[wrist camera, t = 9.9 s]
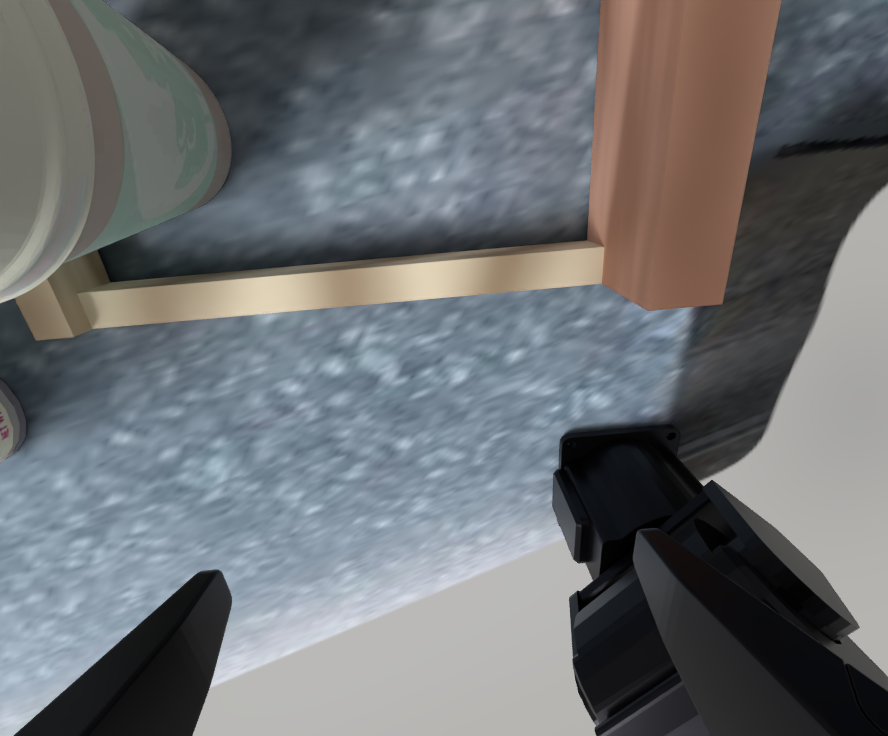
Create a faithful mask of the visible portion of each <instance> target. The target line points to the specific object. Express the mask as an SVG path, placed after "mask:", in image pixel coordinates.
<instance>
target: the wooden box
mask: <svg viewBox="0 0 888 736" xmlns="http://www.w3.org/2000/svg"><path fill="white" fill-rule="evenodd" d="M780 6H781V0H601V5H600V23H599V40H598V58H597V75H596V93H595V110H594V128H593V145H592V163H591V180H590V198H589V215H588V233H587V240H585V241H573V242H562V243H551V244H539V245H528V246H517V247H505V248H494V249H483V250H471V251H460V252H449V253H437V254H426V255H415V256H403V257H392V258H381V259H369V260H358V261H347V262H335V263H324V264H313V265H301V266H290V267H279V268H267V269H256V270H245V271H233V272H222V273H211V274H199V275H188V276H177V277H165V278H154V279H142V280H131V281H120V282H110V280H109V278H108V275H107V273H106V270H105V268H104V265H103V263H102V261H101V258H100V256H99V253H98V251H97V250H95V251H92V252H90V253H87V254H85V255H82V256H80V257H77V258H75V259H73V260H70V261H68V262H65V263H63V264H61V265H60V266H59V268H58V269H57V270H56V271H55V272H54V273H53V274H51V275H50V276H49V277H48V278H47V279H46V280H44V281H43V282H42V283H40V284H39V285H38V286H36V287H35V288H33V289H31V290H30V291H28V292H26V293H24V294H22V295H20V296H18V297H15V300H16V302H17V304H18V306H19V308H20V310H21V312H22V314H23V316H24V318H25V320H26V322H27V324H28V326H29V328H30V330H31V332H32V334H33V336H34V338H35V340H36V341H38V340H49V339H60V338H72V337H76V336H78V335H80V334H83V333H85V332H87V331H89V330H91V329H98V328H109V327H121V326H132V325H143V324H154V323H166V322H177V321H188V320H199V319H210V318H222V317H233V316H244V315H255V314H267V313H278V312H289V311H300V310H311V309H323V308H334V307H345V306H356V305H368V304H379V303H390V302H401V301H413V300H424V299H435V298H446V297H457V296H469V295H480V294H491V293H502V292H514V291H525V290H536V289H547V288H558V287H570V286H581V285H592V284H603V285H605V286H607V287H608V288H610V289H612V290H613V291H615V292H617V293H619V294H620V295H622V296H624V297H625V298H627V299H629V300H630V301H632V302H634V303H635V304H637V305H639V306H641V307H642V308H644V309H646V310H647V311H651V310H662V309H673V308H685V307H696V306H707V305H718V304H722V303H723V298H724V293H725V288H726V283H727V278H728V272H729V267H730V262H731V257H732V252H733V247H734V242H735V237H736V231H737V226H738V221H739V216H740V211H741V206H742V201H743V195H744V190H745V185H746V180H747V175H748V170H749V165H750V160H751V154H752V149H753V144H754V139H755V134H756V129H757V124H758V118H759V113H760V108H761V103H762V98H763V93H764V88H765V83H766V77H767V72H768V67H769V62H770V57H771V52H772V47H773V41H774V36H775V31H776V26H777V21H778V16H779V11H780Z"/></svg>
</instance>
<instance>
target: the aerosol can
mask: <svg viewBox="0 0 888 736" xmlns="http://www.w3.org/2000/svg"><path fill="white" fill-rule="evenodd" d="M25 438H26V418H25V415H24V413H23V410H22V407H21V404H20V402H19V401H18V399H17V398H16V397H15V395H14V394H13V393H12V391H11V390H10V388H9V387H8V386H7V384H6V383H4V382H3V381H2V380H1V379H0V463H1V462H2V461H4V460H5V459H6V458H8V457H9V456H11V455H12V454H14V453H15V452H17V451H18V450H19V448H20V447H21V445H22V443H23V441H24V440H25Z"/></svg>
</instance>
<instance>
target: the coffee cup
mask: <svg viewBox="0 0 888 736" xmlns="http://www.w3.org/2000/svg"><path fill="white" fill-rule="evenodd" d="M231 154H232V147H231V137H230V132H229V127H228V124H227V121H226V118H225V115H224V113H223V110H222V108H221V106H220V104H219V102H218V101H217V99H216V97H215V96H214V94H213V93H212V91H211V90H210V88H209V87H208V86H207V84H206V83H205V82H204V81H203V80H202V79H201V78H200V76H199V75H198V74H197V73H195V72H194V71H193V70H192V69H191V68H190V67H189V66H187V65H186V64H185V63H184V62H182V61H181V60H180V59H178V58H177V57H176V56H174V55H173V54H172V53H171V52H169V51H168V50H167V49H165V48H164V47H163V46H162V45H160V44H159V43H158V42H156V41H155V40H154V39H152V38H151V37H150V36H148V35H147V34H146V33H144V32H143V31H142V30H140V29H139V28H138V27H136V26H135V25H134V24H132V23H131V22H130V21H129V20H127V19H126V18H125V17H123V16H122V15H121V14H119V13H118V12H117V11H115V10H114V9H113V8H111V7H110V6H109V5H107V4H106V3H105V2H103V1H102V0H0V303H2V302H5V301H8V300H11V299H13V298H15V297H18V296H20V295H22V294H24V293H26V292H28V291H30V290H31V289H33V288H35V287H36V286H38V285H39V284H40V283H42V282H43V281H44V280H46V279H47V278H48V277H49V276H50V275H51V274H53V273H54V272H55V271H56V270H57V269H58V268H59V266H60V265H61V264H63V263H65V262H68V261H70V260H73V259H75V258H77V257H80V256H82V255H85V254H87V253H90V252H92V251H95V250H97V249H99V248H102V247H104V246H107V245H109V244H112V243H114V242H116V241H119V240H121V239H124V238H126V237H129V236H131V235H133V234H136V233H138V232H141V231H143V230H146V229H148V228H150V227H153V226H155V225H158V224H160V223H163V222H165V221H167V220H170V219H172V218H175V217H177V216H179V215H182V214H184V213H186V212H189V211H191V210H193V209H196V208H198V207H200V206H202V205H204V204H206V203H207V202H208V201H210V200H211V199H212V198H213V197H214V196H215V195H216V194H217V193H218V192H219V190H220V189H221V188H222V186H223V184H224V182H225V180H226V178H227V175H228V172H229V169H230V164H231Z"/></svg>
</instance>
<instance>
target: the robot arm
mask: <svg viewBox="0 0 888 736" xmlns="http://www.w3.org/2000/svg"><path fill="white" fill-rule="evenodd" d="M671 432H672V433H671ZM669 433H671V434H670V435H669V436H667V435H668V434H669ZM679 440H680V432H679V430H678V429H677V428H676V427H675V426H673V425H659V426H648V427H637V428H626V429H616V430H605V431H594V432H583V433H572V434H566V435H564V436H563V437H562V438H561V439H560V446H559V469H557V470H556V471H555V472H554V473H553V501H552V506H553V509H554V512H555V514H556V517H557V521H558V524H559V526H560V527H561V529H562V532H563V535H564V537H565V540H566V542H567V545H568V547H569V550H570V552H571V555H572V557H573V559H574V560H575V561H576V562H577V563H586V565H587V567H588V570H589V572H590V574H591V577H592V579H593V581H592V582H591V583H590V584H589V585H587V586H586V587H585V588H584V589H583V590H581V591H577V592H575V593H574V594H573V595H572V596H570V597H569V603H570V618H571V633H572V647H573V648H572V649H573V669H574V673H575V680H576V684H577V687H578V693H579V695H580V697H581V699H582V701H583V703H584V705H585V708H586V709H587V711H588V713H589V715H590V716H591V718H592V720H593V722H594V723H595V724H596V727H595V733H596V735H597V736H888V677H887V676H886V674H885V673H884V672H883V671H882V670H881V669H880V668H879V667H878V666H877V665H876V664H875V663H874V662H873V661H872V660H871V659H870V658H869V657H868V656H867V655H866V654H865V653H864V652H863V651H862V650H861V649H860V648H859V647H858V646H857V645H856V644H855V643H854V642H853V641H852V640H851V639H850V638H849V637H848V636H847V635H849V634H850V633H852V632H854V631H855V630H857V629H858V628H860V627H859V625H858V623H857V622H856V620H855V619H854V618H853V616H852V615H851V613H850V612H849V610H848V609H847V608H846V606H845V605H844V603H843V602H842V601H841V599H840V598H839V596H838V595H837V593H836V592H835V590H834V589H833V588H832V586H831V585H830V583H829V582H828V580H827V579H826V577H825V576H824V575H823V573H822V572H821V571H820V570H819V569H818V568H817V567H816V566H815V565H814V564H813V563H812V562H811V561H810V560H808V558H807V557H806V556H805V555H803V554H802V553H801V552H800V551H799V550H798V549H797V548H796V547H795V546H794V545H793V544H792V543H791V542H790V541H789V540H788V539H787V538H785V537H784V536H783V535H782V534H781V533H780V532H779V531H778V530H777V529H776V528H774V527H773V526H772V525H771V524H769V523H768V522H767V521H765V520H764V519H763V518H762V517H760V516H759V515H758V514H756V513H755V512H754V511H753V510H751V509H750V508H749V507H747V506H746V505H744V504H743V503H742V502H741V501H739V500H738V499H737V498H735V497H734V496H733V495H731V494H730V493H729V492H727V491H726V490H725V489H723V488H722V487H721V486H720V485H718V484H717V483H716V482H714V481H713V480H711V481H710V482H709V483H707V484H706V485H705V486H703V485H702V484H701V483H700V482H699V481H698V480H697V479H696V477H695V476H694V475H693V474H692V473H691V472H690V471H689V470H688V469H687V468H686V467H685V465H684V464H683V463H682V462H681V461H680V460H679V459H678V458H677V451H678V446H679ZM569 442H573V443H572V444H571V445H567V443H569ZM231 606H232V596H231V593H230V590H229V588H228V585H227V583H226V581H225V578H224V576H223V573H222V572H221V571H220V570H207V571H201V572H199V573H197V574H196V575H194V576H193V577H192V578H191V579H190V580H189V581H188V582H187V583H185V584H184V585H183V586H182V587H181V588H180V589H179V590H177V591H176V592H175V593H174V594H173V595H172V596H171V597H170V598H168V599H167V600H166V601H165V602H164V603H163V604H162V605H161V606H159V607H158V608H157V609H156V610H155V611H154V612H153V613H152V614H150V615H149V616H148V617H147V618H146V619H145V620H144V621H142V622H141V623H140V624H139V625H138V626H137V627H136V628H135V629H133V630H132V631H131V632H130V633H129V634H128V635H127V636H126V637H124V638H123V639H122V640H121V641H120V642H119V643H118V644H116V645H115V646H114V647H113V648H112V649H111V650H110V651H109V652H107V653H106V654H105V655H104V656H103V657H102V658H101V659H100V660H98V661H97V662H96V663H95V664H94V665H93V666H92V667H91V668H89V669H88V670H87V671H86V672H85V673H84V674H83V675H81V676H80V677H79V678H78V679H77V680H76V681H75V682H74V683H72V684H71V685H70V686H69V687H68V688H67V689H66V690H65V691H63V692H62V693H61V694H60V695H59V696H58V697H57V698H55V699H54V700H53V701H52V702H51V703H50V704H49V705H48V706H46V707H45V708H44V709H43V710H42V711H41V712H40V713H39V714H37V715H36V716H35V717H34V718H33V719H32V720H31V721H30V722H28V723H27V724H26V725H25V726H24V727H23V728H22V729H20V730H19V731H18V732H17V733H16V734H15V735H14V736H192V735H193V732H194V730H195V727H196V724H197V721H198V719H199V716H200V713H201V710H202V707H203V704H204V702H205V699H206V696H207V693H208V691H209V688H210V685H211V681H212V678H213V674H214V671H215V667H216V663H217V659H218V656H219V652H220V648H221V644H222V640H223V637H224V633H225V629H226V625H227V622H228V618H229V614H230V610H231Z"/></svg>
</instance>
